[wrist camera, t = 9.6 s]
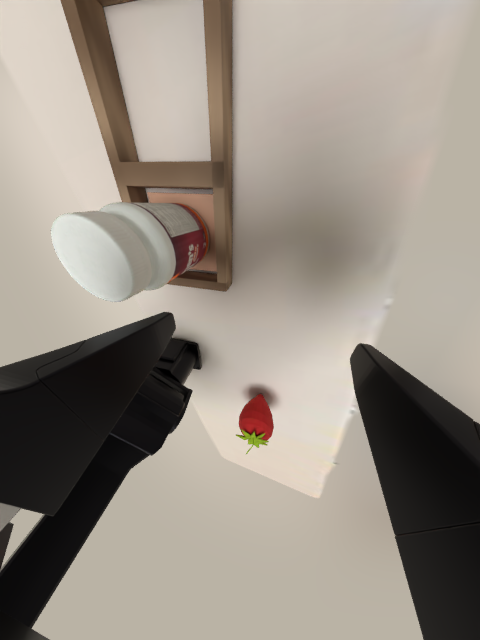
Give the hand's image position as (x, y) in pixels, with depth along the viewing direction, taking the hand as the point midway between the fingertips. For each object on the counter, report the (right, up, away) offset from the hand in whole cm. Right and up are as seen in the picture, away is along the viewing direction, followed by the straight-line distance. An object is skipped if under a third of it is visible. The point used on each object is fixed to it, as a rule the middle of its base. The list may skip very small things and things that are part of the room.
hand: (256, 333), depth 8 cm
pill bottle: (-7, +10, +11) cm, 17 cm away
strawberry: (+3, -14, +25) cm, 29 cm away
